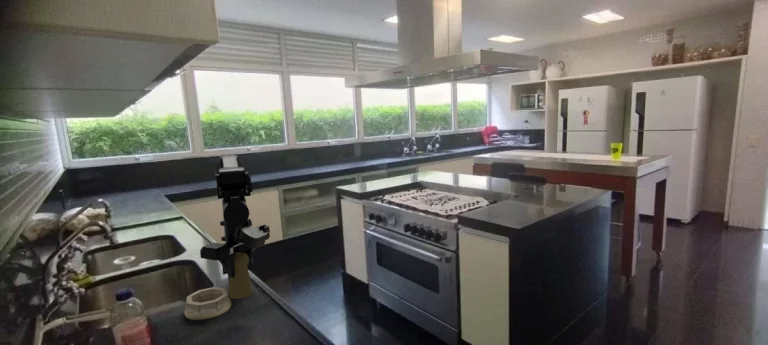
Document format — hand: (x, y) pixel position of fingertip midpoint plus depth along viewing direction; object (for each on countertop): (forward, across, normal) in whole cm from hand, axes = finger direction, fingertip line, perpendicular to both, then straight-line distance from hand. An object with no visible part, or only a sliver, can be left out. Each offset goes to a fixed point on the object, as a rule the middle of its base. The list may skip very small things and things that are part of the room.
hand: (239, 273), depth 97 cm
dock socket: (+12, 0, +13) cm, 18 cm away
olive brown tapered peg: (+6, 0, 0) cm, 6 cm away
